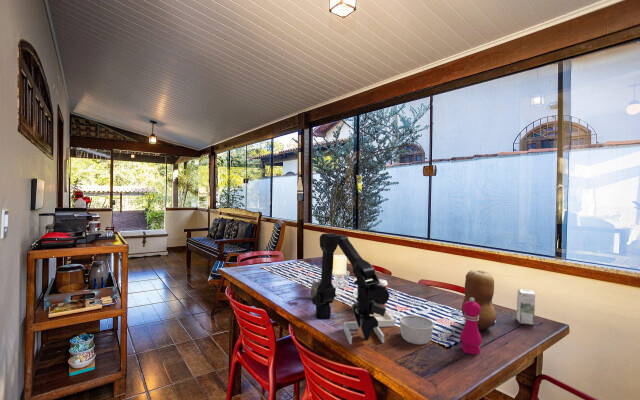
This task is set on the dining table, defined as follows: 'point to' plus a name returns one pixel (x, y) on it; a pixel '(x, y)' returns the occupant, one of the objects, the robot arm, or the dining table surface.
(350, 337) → the white c-shaped bracket
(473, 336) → the pepper mill
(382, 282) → the paper cup
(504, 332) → the dining table surface
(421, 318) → the ramekin
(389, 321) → the dish
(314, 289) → the mineral rock
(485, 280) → the butternut squash
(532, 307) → the syrup box
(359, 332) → the ball
